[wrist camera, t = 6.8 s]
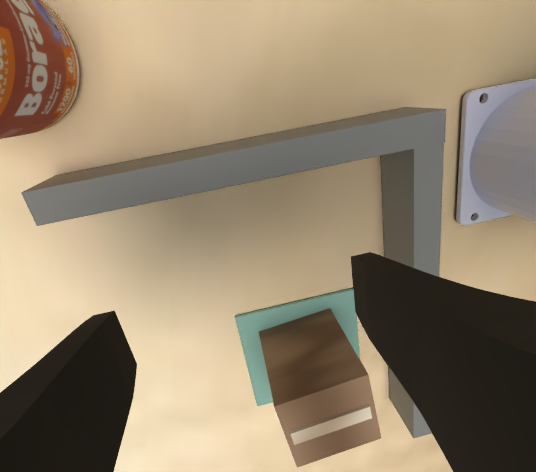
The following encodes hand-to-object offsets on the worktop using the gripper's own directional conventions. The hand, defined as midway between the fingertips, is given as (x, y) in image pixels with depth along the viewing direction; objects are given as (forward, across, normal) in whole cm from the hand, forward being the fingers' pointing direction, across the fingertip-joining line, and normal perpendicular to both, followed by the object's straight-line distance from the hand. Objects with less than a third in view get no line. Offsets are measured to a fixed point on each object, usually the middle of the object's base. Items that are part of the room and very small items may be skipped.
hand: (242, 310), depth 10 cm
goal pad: (+10, -3, +11) cm, 15 cm away
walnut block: (+10, -3, +11) cm, 15 cm away
